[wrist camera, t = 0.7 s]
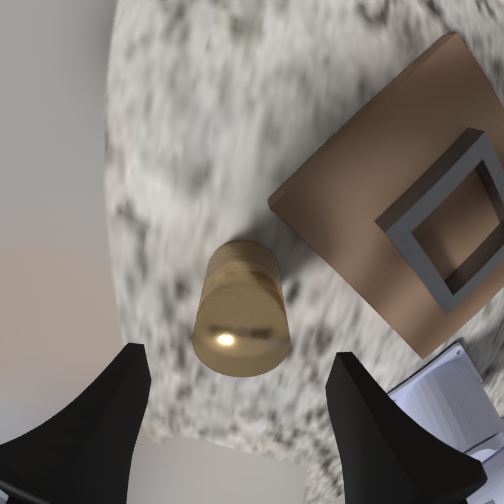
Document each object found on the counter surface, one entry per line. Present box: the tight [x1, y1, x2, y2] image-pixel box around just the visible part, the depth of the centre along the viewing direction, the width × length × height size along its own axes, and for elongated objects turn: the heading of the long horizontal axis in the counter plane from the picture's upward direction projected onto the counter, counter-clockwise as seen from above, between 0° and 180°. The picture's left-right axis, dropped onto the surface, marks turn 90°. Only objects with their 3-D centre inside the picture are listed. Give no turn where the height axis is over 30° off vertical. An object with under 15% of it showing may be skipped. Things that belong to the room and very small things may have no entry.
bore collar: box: [374, 127, 504, 316], centre depth 14 cm, size 8×8×2 cm
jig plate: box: [268, 33, 504, 360], centre depth 16 cm, size 16×14×2 cm
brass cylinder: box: [192, 240, 290, 377], centre depth 15 cm, size 4×4×6 cm
